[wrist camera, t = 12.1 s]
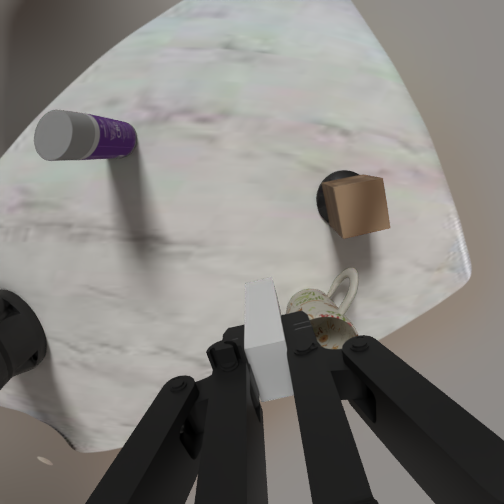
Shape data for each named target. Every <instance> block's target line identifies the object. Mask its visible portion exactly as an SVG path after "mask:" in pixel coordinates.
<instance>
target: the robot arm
mask: <svg viewBox="0 0 504 504" xmlns="http://www.w3.org/2000/svg"><path fill="white" fill-rule="evenodd" d="M45 353H46V340H45V335H44V332H43V329H42V327H41V325H40V322H39V321H38V319H37V317H36V315H35V314H34V312H33V311H32V310H31V308H30V307H29V306H28V305H27V304H26V302H25V301H24V300H22V299H21V298H20V297H19V296H17V295H16V294H14V293H13V292H10V291H8V290H0V390H1V389H2V388H3V386H4V385H5V384H6V383H7V382H8V381H9V380H10V379H11V378H12V377H14V376H16V375H19V374H21V373H24V372H26V371H29V370H31V369H33V368H35V367H36V366H37V365H38V364H39V363H40V362H41V361H42V360H43V358H44V356H45ZM206 353H207V356H208V358H209V361H210V363H211V366H212V369H213V372H212V375H211V376H209V377H207V378H205V379H202V380H200V381H197V382H195V381H194V379H193V378H192V377H190V376H185V375H184V376H178V377H175V378H172V379H171V380H169V381H168V382H167V383H166V384H165V385H164V386H163V388H162V389H161V391H160V392H159V394H158V395H157V397H156V398H155V400H154V401H153V403H152V404H151V406H150V407H149V409H148V410H147V412H146V413H145V415H144V416H143V418H142V419H141V421H140V422H139V424H138V425H137V427H136V428H135V430H134V431H133V433H132V434H131V436H130V437H129V439H128V440H127V442H126V443H125V445H124V446H123V448H122V449H121V451H120V452H119V454H118V455H117V457H116V458H115V460H114V461H113V463H112V464H111V466H110V467H109V469H108V470H107V472H106V473H105V475H104V476H103V478H102V479H101V481H100V482H99V484H98V485H97V487H96V488H95V490H94V491H93V493H92V494H91V496H90V497H89V499H88V500H87V502H86V503H85V504H185V502H186V500H187V497H188V495H189V493H190V491H191V489H192V486H193V484H194V482H195V480H196V477H197V475H198V480H197V488H196V496H195V503H194V504H268V494H267V478H266V460H265V445H264V429H263V411H262V408H261V405H260V402H259V396H260V399H261V402H264V401H269V400H274V399H279V398H283V397H288V396H292V395H294V398H295V403H296V409H297V415H298V421H299V426H300V432H301V438H302V444H303V449H304V455H305V461H306V466H307V473H308V479H309V484H310V490H311V497H312V502H313V504H378V502H377V500H375V499H374V497H373V495H372V492H371V489H370V486H369V483H368V480H367V477H366V474H365V471H364V468H363V465H362V462H361V459H360V456H359V453H358V450H357V447H356V444H355V441H354V438H353V435H352V432H351V429H350V426H349V423H348V420H347V417H346V414H345V411H344V408H343V406H342V403H341V400H348V401H349V403H350V404H351V406H352V407H353V408H354V409H355V410H356V412H357V413H358V414H359V415H360V417H361V418H362V419H363V420H364V421H365V423H366V424H367V425H368V426H369V427H370V428H371V430H372V431H373V432H374V433H375V434H376V436H377V437H378V438H379V439H380V440H381V441H382V442H383V444H384V445H385V446H386V447H387V448H388V450H389V451H390V452H391V453H392V454H393V455H394V457H395V458H396V459H397V460H398V461H399V462H400V464H401V465H402V466H403V467H404V468H405V469H406V470H407V472H408V473H409V474H410V475H411V476H412V477H413V479H414V480H415V481H416V482H417V483H418V484H419V486H420V487H421V488H422V489H423V490H424V491H425V492H426V494H427V495H428V496H429V497H430V498H431V499H432V500H433V502H434V503H435V504H504V441H503V440H502V439H501V438H500V437H499V436H497V435H496V434H495V433H494V432H492V431H491V430H490V429H489V428H487V427H486V426H485V425H484V424H482V423H481V422H480V421H478V420H477V419H476V418H475V417H474V416H472V415H471V414H470V413H469V412H467V411H466V410H465V409H464V408H462V407H461V406H460V405H459V404H457V403H456V402H455V401H453V400H452V399H451V398H450V397H448V396H447V395H446V394H445V393H443V392H442V391H441V390H440V389H438V388H437V387H436V386H435V385H433V384H432V383H431V382H429V381H428V380H427V379H426V378H424V377H423V376H422V375H421V374H419V373H418V372H417V371H416V370H414V369H413V368H412V367H410V366H409V365H408V364H406V363H405V362H404V361H403V360H402V359H400V358H399V357H398V356H396V355H395V354H394V353H393V352H391V351H390V350H389V349H387V348H386V347H385V346H384V345H382V344H381V343H380V342H379V341H377V340H376V339H375V338H373V337H371V336H365V335H363V336H356V337H352V338H350V339H348V340H347V341H345V343H344V344H343V346H342V349H327V348H324V347H322V346H321V345H320V344H319V342H318V341H317V339H316V336H315V333H314V330H313V328H312V325H311V322H310V320H309V317H308V314H306V313H305V312H303V311H302V310H301V311H297V312H293V313H289V314H285V315H281V311H280V306H279V302H278V298H277V294H276V290H275V286H274V282H273V278H272V277H269V278H265V279H261V280H257V281H252V282H248V283H245V325H241V326H236V327H231V328H228V329H227V330H226V332H225V333H224V334H223V340H222V341H219V342H216V343H215V344H213V345H211V346H210V347H209V348H208V350H207V352H206Z"/></svg>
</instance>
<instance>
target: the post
mask: <svg viewBox="0 0 504 504" xmlns="http://www.w3.org/2000/svg"><path fill="white" fill-rule="evenodd" d="M358 175H359V174H357V173H355V172H352V171H346V170H342V171H337V172H334V173H332V174H330V175H328V176H327V177H326V178H325V179H324V180H323V181H322V183H323V182H328V181H332V180H337V179H342V178H347V177H353V176H358ZM316 201H317V207H318V210H319V212H320V214H321V216H322V217H323V218H324V219H325V220H326V221H327V222H328V223H329V219H328V213H327V208H326V203H325V198H324V193H323V188H322V184H320V186H319V188H318V191H317V197H316Z"/></svg>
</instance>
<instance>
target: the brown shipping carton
mask: <svg viewBox="0 0 504 504" xmlns="http://www.w3.org/2000/svg"><path fill="white" fill-rule="evenodd" d="M321 184H322V188H323V193H324V198H325V203H326V208H327V213H328V219H329V224H330V226H331V227H332V228H333V229H334V230H335V231H336V232H337V233H338V234H339V235H340V236H341V237H342V238H343V239H345V238H350V237H354V236H358V235H363V234H367V233H371V232H376V231H380V230H384V229H389V228H390V222H389V215H388V208H387V201H386V195H385V189H384V183H383V178H380V177H374V176H368V175H358V176H353V177H347V178H342V179H337V180H332V181H328V182H323V183H321Z"/></svg>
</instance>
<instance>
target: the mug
mask: <svg viewBox="0 0 504 504" xmlns="http://www.w3.org/2000/svg"><path fill="white" fill-rule="evenodd" d="M345 278H349V279H350V285H349V290H348V293H347V295H346V297H345V299H344V301H343V302H342V304H341V305H340V307H339V308H338V307H337V306H336V305H335V304H334V303H333V301H332V300H331V299H330V297H331V296H332V294H333V293H334V292H335V290H336V289H337V287H338V286H339V285H340V283H341V282H342V281H343V280H344V279H345ZM357 288H358V273H357V271H356V269H355V268H347V269H345V270H344V271H343V272H342V273H341V274H340V275H338V276H337V277H336V279H335V280H334V282H333V284H332V286H331V288H330V290H329V292H328V294H327V295H326V294H325V293H323V292H322V291H320V290H316V289H306V290H302V291H300V292H298V293H297V294H295V295H294V296H293V297H292V298H291V300H290V301H289V303H288V306H287V311H286V314H289V313H293V312H297V311H301V310H302V311H303V312H305V313H306V314H308V317H309V320H310V322H311V325H312V328H313V330H314V333H315V336H316V339H317V341H318V342H319V344H320V345H321V346H322V347H324V348H327V349H342V346H343V344H344V343H345V341H347V340H348V339H350V338H352V337H356V336H358V333H357V331H356V329H355V327H354V326H353V325H352V323H351V322H350V321H349V320H348V319H347V317H346V316H345V315H344V314H345V312H346V311H347V309H348V308H349V306H350V304H351V303H352V301H353V299H354V297H355V295H356V292H357Z"/></svg>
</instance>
